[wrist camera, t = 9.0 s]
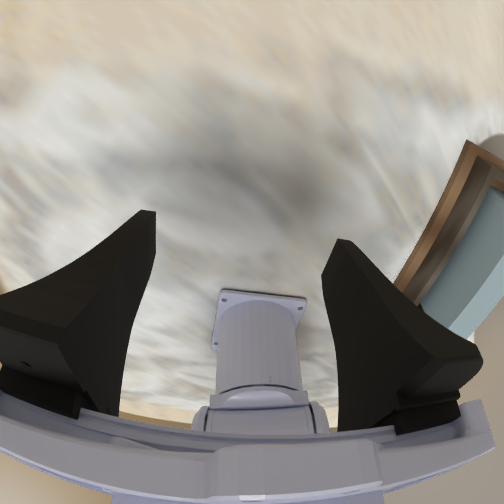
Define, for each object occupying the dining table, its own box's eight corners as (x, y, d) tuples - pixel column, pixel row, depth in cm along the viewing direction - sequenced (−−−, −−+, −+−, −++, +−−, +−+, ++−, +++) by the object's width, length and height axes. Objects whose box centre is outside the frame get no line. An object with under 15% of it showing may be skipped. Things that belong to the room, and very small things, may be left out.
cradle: (446, 308, 30) (454, 324, 28) (380, 303, 29) (387, 323, 27) (526, 176, 19) (542, 190, 17) (466, 139, 18) (486, 153, 16)
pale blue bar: (443, 295, 28) (466, 339, 23) (415, 292, 27) (437, 340, 22) (506, 193, 20) (545, 232, 15) (480, 179, 19) (523, 220, 14)
